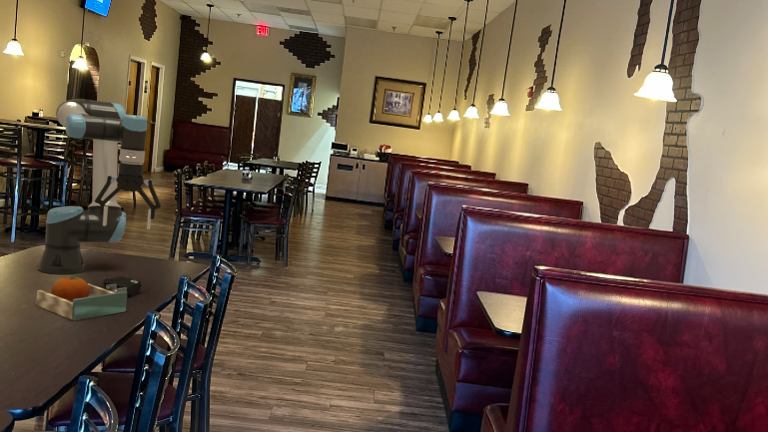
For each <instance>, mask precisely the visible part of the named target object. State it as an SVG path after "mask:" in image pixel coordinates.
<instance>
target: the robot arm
mask: <svg viewBox="0 0 768 432" xmlns="http://www.w3.org/2000/svg"><path fill="white" fill-rule="evenodd" d="M55 116H56V120H57V121H58V123H59V124H60V125H62V126H63V127H65V132H66V133H65V134H66V135H67V136H68V137H69V138H75V139H88V140H92V141H93V148H92V149H93V151H92V201H91V203H90V204H89V205H88V206H87V210H84V208H83V207H82V206H78V205H77V206H76V205H73V206H72V205H69V206H58V207H54V208H50V209H49V210H48V212H47V216H46V221H45V224H46V225H45V226H46V227H45V230H46V231H45V244H44V249H43V250H44V251H43V252H42V255H41V258H40V260H39V262H38V271H39V270H40V271H39V272H42V273H46V274H54V275H71V274H72V275H73V274H78V273H82V272H84V271H85V262H84V258H83V254H82V251H81V243H106V244H109V243H118V242H120V241H121V240H122V238H123V236H124V235H125V234H124V233H125V230H126V225H127V213H126V212H124V211H122V206H121V205H119V204H118V193H119V192H121V190H122V191H124V192H131V193H135V192H137V193H138V194H139V195H140V196H141V198H142V200H144V202H145V203H146V204H147V205H148V207H149V209H148V213H147V224H146V225H147V226H146V230H150V229H151V222H152V220H155V216H156V210H158V209H161V208H162V203H161V201H160V199H159V197H158V195H157V192H156V189H155V188H154V181H153V179H152V178H150V179H144V171H145V169H144V168H145V166H144V163H145V158H146V157H145V156H146V142H147V130H148V118H147V117H145V116H142V115H133V114H127V113H126V109H125V107H124V106H123V105H122V104H120V103H114V102H112V101H109V102H108V101H101V100H100V101H99V100H93V99H85V98H74V99H68V100H65V101H62V103H60V104H59V106H58V107H57V108H56V112H55ZM118 142H119V143H120V151H119V161H120V163H118V150H119V148H118V146H119V145H118ZM118 164H119V165H118ZM144 184H145V186H146V187H148V189H149V192H150V195H151V197H152V199H153V201H152V200H151V199H150V197H149V196H148V195H147V194H146V192H145V191H144V189H143V188H142V186H143V185H144ZM153 202H154V203H153Z"/></svg>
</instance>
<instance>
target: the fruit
mask: <svg viewBox="0 0 768 432" xmlns="http://www.w3.org/2000/svg"><path fill="white" fill-rule="evenodd" d="M88 284H89V283H88V282H86V280H84V279H83V278H81V277H73V276H72V277H71V276H68V277H67V276H66V277H61V278H59V279H57V280H56V281H55V282H54V283H53V284H52V286H51V289H50V294H53V295H55V296H58V297H60V298H63V299H66V300H68V301H71V302H73V299H78V298H85V297H88V295H89V291H90V290H89V286H88Z"/></svg>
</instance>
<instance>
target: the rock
mask: <svg viewBox="0 0 768 432" xmlns="http://www.w3.org/2000/svg"><path fill="white" fill-rule="evenodd" d="M109 284H117V287H116V288H123V287H126V288H127V297H134V296H135V295H138V294H139V292H140V291H141V290H142V285H143V284H142V282H141V281H140V280H138V279H134V278H131V277H125V276H121V275H120V276H116V277H113V278H108V277H107V278H105V279H104V280H103V282H102V285H103V289H106V285H109Z"/></svg>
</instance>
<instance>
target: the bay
mask: <svg viewBox="0 0 768 432" xmlns="http://www.w3.org/2000/svg"><path fill="white" fill-rule="evenodd" d="M87 284H88V286H89V290H90V291H89V295H88V297H85V298H78V299H73V302H71V301H68V300H66V299H63V298H60V297H58V296H55V295H53V294H51V292H50V293H49V292H48V291H44V290H42V289H40V290H37V291H36V304H35V305H36V306H37V307H40V308H42V309H44V308H45V310H47V311H50V312H52V313H54V314H57V315H59V316H62V317H64V318H67V319H69V320H71V321H74V322H75V321H80V320H85V319H91V318H97V317H102V316H107V315H113V314H117V313H123V312H126V311H127V302H128V301H127V300H128V296H127V292H125V291H124V292H117V293H114V292H111V291H109V290H106V289H104V287H103V288H102V287H101V286H100V287H99V286H97V285H94V284H91V283H87Z"/></svg>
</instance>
